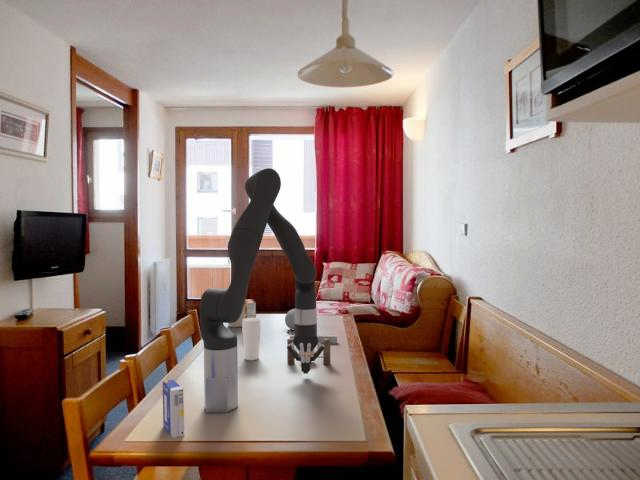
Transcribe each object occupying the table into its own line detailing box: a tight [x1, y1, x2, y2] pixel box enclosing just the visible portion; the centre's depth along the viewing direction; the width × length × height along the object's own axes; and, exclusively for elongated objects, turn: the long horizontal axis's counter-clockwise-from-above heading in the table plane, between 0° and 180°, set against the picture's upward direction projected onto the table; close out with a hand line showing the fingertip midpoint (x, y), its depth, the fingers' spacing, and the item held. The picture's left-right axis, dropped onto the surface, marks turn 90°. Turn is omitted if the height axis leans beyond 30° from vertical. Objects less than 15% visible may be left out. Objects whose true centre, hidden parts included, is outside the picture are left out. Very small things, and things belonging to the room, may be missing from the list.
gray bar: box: [289, 334, 338, 345], centre depth 191 cm, size 2×20×3 cm, turn 87°
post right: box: [322, 339, 331, 366], centre depth 163 cm, size 3×3×9 cm
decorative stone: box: [284, 308, 295, 331], centre depth 213 cm, size 10×10×10 cm
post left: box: [286, 337, 296, 365], centre depth 163 cm, size 3×3×9 cm
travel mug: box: [227, 305, 245, 328], centre depth 222 cm, size 8×8×18 cm
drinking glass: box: [241, 317, 262, 362], centre depth 169 cm, size 7×7×15 cm
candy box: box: [244, 298, 257, 318], centre depth 206 cm, size 9×4×15 cm, turn 17°
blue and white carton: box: [162, 379, 185, 439], centre depth 111 cm, size 8×3×12 cm, turn 36°
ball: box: [299, 350, 315, 361], centre depth 165 cm, size 6×6×6 cm
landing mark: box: [295, 346, 323, 358], centre depth 178 cm, size 14×14×1 cm
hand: (305, 372), depth 149 cm, fingers closed
